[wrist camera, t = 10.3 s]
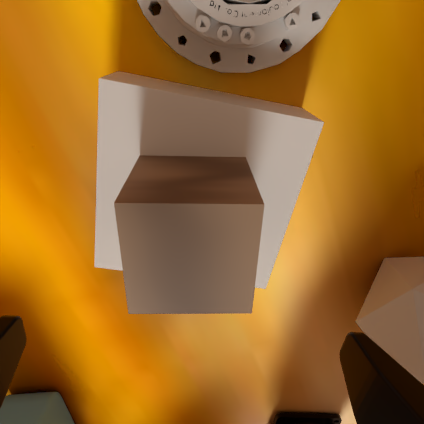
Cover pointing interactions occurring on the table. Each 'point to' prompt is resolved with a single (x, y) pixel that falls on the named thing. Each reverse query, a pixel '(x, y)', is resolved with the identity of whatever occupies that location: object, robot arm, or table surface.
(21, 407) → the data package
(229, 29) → the mechanical component
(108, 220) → the grey block
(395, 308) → the die
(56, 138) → the table surface
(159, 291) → the grey cube
